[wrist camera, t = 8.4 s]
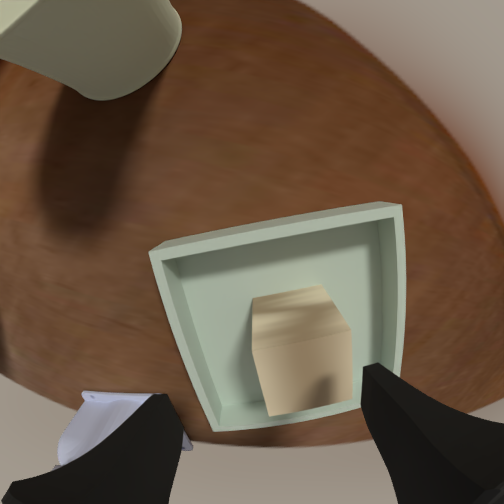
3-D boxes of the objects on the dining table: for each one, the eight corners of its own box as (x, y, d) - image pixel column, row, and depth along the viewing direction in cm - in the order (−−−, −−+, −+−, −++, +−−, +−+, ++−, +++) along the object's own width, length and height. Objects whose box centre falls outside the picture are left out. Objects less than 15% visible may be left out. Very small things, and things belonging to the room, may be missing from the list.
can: (140, 114, 15) (8, 46, 3) (55, 90, 14) (-55, 54, 3) (206, 10, 13) (168, -111, 2) (112, -1, 12) (43, -74, 1)
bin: (217, 406, 20) (213, 431, 17) (165, 241, 17) (148, 251, 14) (383, 373, 19) (396, 395, 16) (379, 201, 16) (401, 204, 13)
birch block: (265, 354, 18) (269, 416, 12) (252, 298, 17) (252, 350, 11) (327, 342, 18) (352, 398, 12) (321, 284, 17) (351, 330, 11)
